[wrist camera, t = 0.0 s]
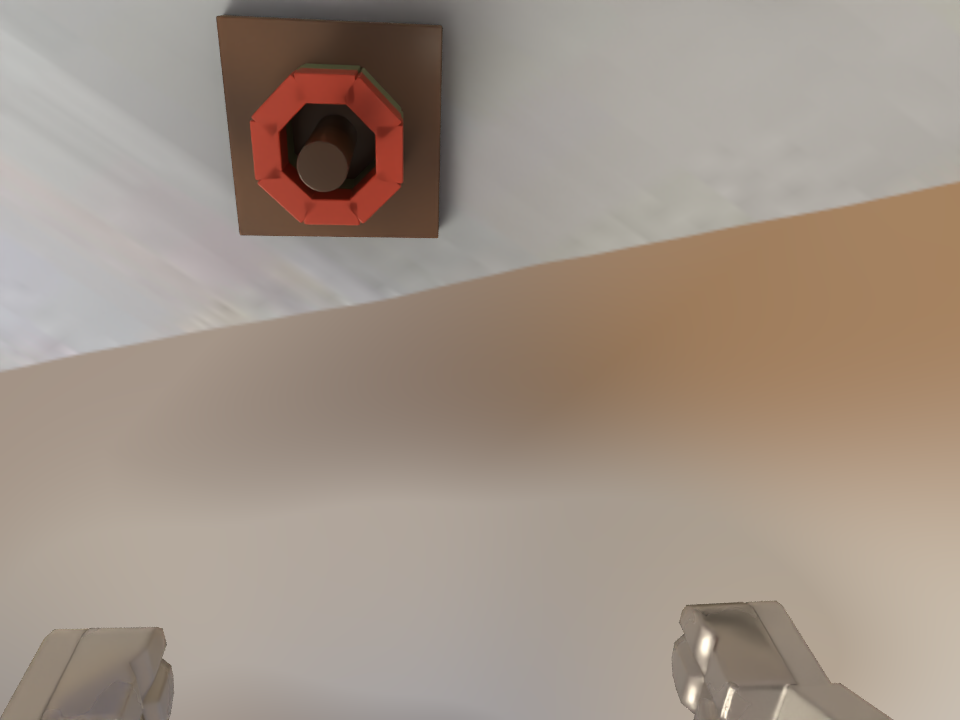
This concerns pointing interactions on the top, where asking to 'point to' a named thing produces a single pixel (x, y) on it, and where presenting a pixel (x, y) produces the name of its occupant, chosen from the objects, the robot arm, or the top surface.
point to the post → (335, 117)
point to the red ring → (284, 177)
